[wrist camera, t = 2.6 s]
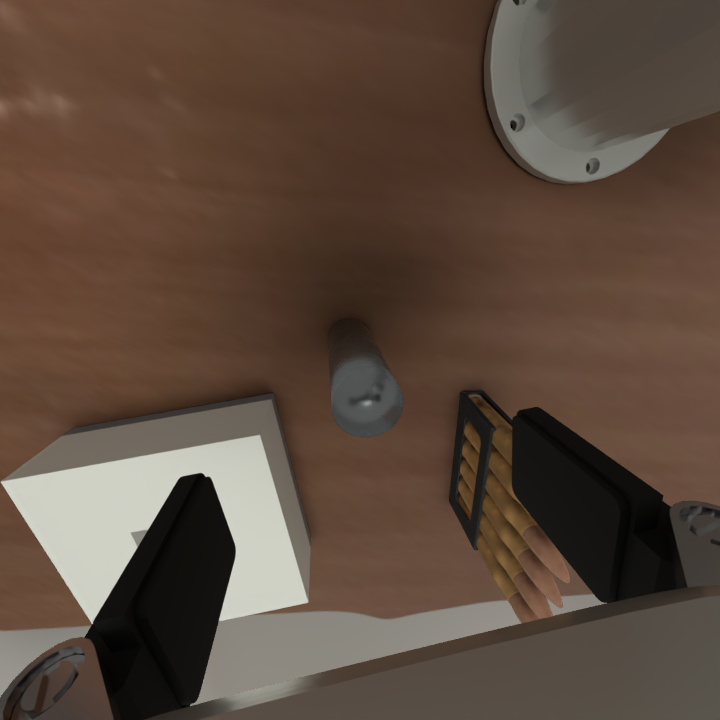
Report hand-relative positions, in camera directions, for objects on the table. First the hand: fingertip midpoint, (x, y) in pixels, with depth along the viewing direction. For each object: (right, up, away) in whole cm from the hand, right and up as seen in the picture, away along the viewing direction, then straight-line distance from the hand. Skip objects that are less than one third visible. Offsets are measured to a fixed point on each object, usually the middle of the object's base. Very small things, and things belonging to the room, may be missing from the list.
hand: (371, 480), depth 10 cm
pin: (-1, +5, +13) cm, 14 cm away
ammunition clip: (+8, -4, +17) cm, 20 cm away
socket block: (-12, -6, +16) cm, 21 cm away
